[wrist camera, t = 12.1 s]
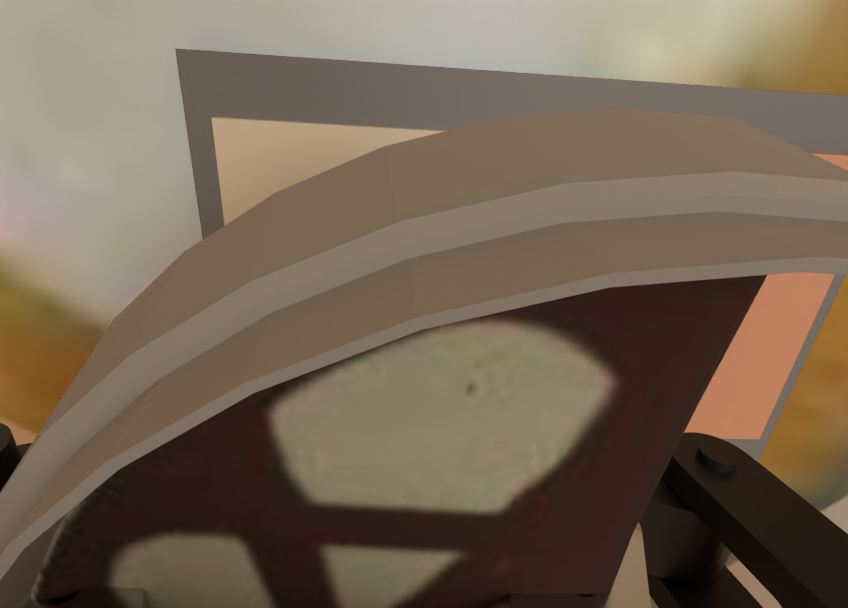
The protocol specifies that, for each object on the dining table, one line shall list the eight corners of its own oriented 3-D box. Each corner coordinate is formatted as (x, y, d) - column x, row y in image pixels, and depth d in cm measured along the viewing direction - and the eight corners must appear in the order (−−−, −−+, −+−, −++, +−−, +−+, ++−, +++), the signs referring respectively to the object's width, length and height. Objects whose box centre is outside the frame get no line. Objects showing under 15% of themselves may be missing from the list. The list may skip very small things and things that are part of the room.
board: (185, 50, 12) (167, 47, 11) (905, 101, 13) (942, 101, 12) (239, 446, 17) (231, 466, 16) (746, 451, 19) (764, 470, 18)
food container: (247, 49, 10) (-944, -283, 1) (512, 100, 11) (1068, 147, 2) (242, 466, 15) (11, 1018, 6) (424, 482, 16) (459, 999, 7)
